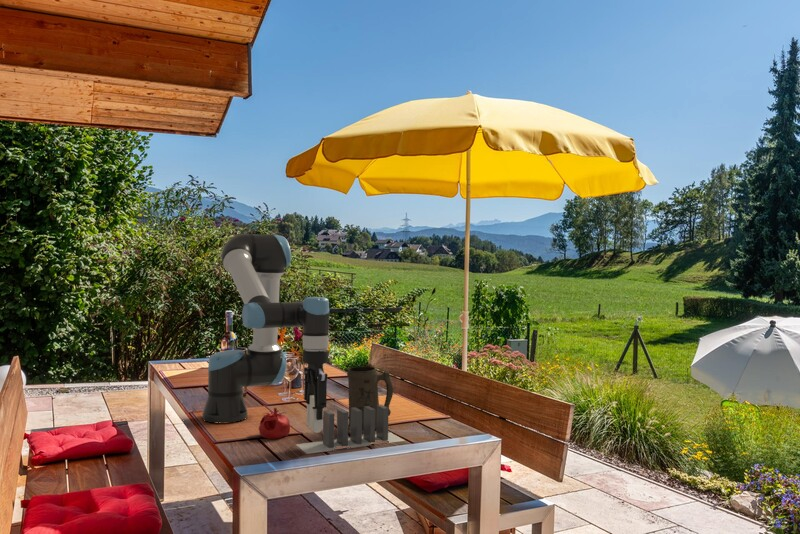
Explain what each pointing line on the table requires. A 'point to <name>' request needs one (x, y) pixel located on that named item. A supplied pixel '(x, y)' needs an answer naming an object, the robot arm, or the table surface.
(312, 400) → the domino
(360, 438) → the domino
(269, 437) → the pomegranate
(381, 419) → the domino
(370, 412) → the domino
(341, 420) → the domino
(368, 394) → the beer stein
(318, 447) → the mat
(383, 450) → the table surface
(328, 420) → the domino
